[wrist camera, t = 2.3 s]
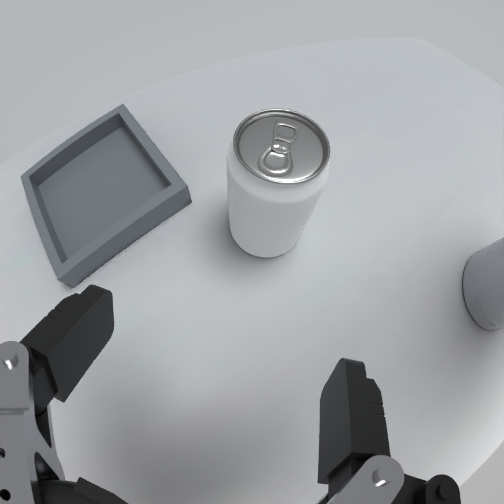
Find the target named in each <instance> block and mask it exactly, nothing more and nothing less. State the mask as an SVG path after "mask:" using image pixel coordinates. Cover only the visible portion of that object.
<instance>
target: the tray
mask: <svg viewBox="0 0 504 504" xmlns="http://www.w3.org/2000/svg"><path fill="white" fill-rule="evenodd" d="M21 180H22V183H23V187H24V190H25V193H26V197H27V200H28V203H29V206H30V209H31V212H32V215H33V218H34V221H35V224H36V227H37V229H38V232H39V235H40V237H41V240H42V243H43V245H44V248H45V250H46V253H47V255H48V258H49V260H50V262H51V265H52V267H53V269H54V272H55V274H56V276H57V279H58V280H59V281H61V282H63V283H65V284H67V285H70V286H72V287H75V286H76V285H78V284H79V283H80V282H82V281H83V280H84V279H85V278H87V277H88V276H89V275H91V274H92V273H93V272H94V271H96V270H97V269H98V268H100V267H101V266H102V265H104V264H105V263H106V262H108V261H109V260H110V259H112V258H113V257H114V256H116V255H117V254H118V253H120V252H121V251H122V250H124V249H125V248H127V247H128V246H129V245H131V244H132V243H133V242H135V241H136V240H138V239H139V238H140V237H142V236H143V235H145V234H146V233H147V232H149V231H150V230H152V229H153V228H155V227H156V226H157V225H159V224H160V223H162V222H163V221H165V220H166V219H168V218H169V217H171V216H172V215H173V214H175V213H176V212H178V211H179V210H181V209H182V208H184V207H185V206H187V205H188V204H190V203H191V202H192V200H191V197H190V193H189V189H188V186H187V185H186V183H185V182H184V181H183V179H182V178H181V177H180V176H179V174H178V173H177V172H176V171H175V169H174V168H173V167H172V166H171V164H170V163H169V162H168V160H167V159H166V158H165V157H164V155H163V154H162V153H161V152H160V150H159V149H158V148H157V146H156V145H155V144H154V143H153V141H152V140H151V139H150V137H149V136H148V135H147V134H146V132H145V131H144V130H143V128H142V127H141V126H140V125H139V123H138V122H137V121H136V120H135V118H134V117H133V116H132V114H131V113H130V112H129V111H128V109H127V108H126V107H125V105H124V104H122V105H120V106H118V107H117V108H115V109H113V110H112V111H110V112H108V113H107V114H105V115H104V116H102V117H100V118H99V119H97V120H96V121H94V122H93V123H91V124H89V125H88V126H86V127H85V128H83V129H82V130H81V131H79V132H78V133H76V134H75V135H73V136H72V137H70V138H69V139H68V140H66V141H65V142H63V143H62V144H61V145H59V146H58V147H57V148H55V149H54V150H53V151H51V152H50V153H49V154H47V155H46V156H45V157H44V158H42V159H41V160H40V161H38V162H37V163H36V164H35V165H34V166H32V167H31V168H30V169H29V170H27V171H26V172H25V173H24V174H23V175H22V176H21Z"/></svg>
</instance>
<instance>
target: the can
mask: <svg viewBox="0 0 504 504" xmlns="http://www.w3.org/2000/svg"><path fill="white" fill-rule="evenodd" d="M329 157H330V145H329V141H328V139H327V136H326V135H325V133H324V131H323V130H322V129H321V128H320V126H319V125H318V124H316V123H315V122H314V121H313V120H311V119H310V118H308V117H307V116H305V115H303V114H300V113H298V112H295V111H291V110H286V109H267V110H262V111H259V112H256V113H254V114H252V115H250V116H248V117H247V118H245V119H244V120H243V121H242V122H241V123H240V124H239V126H238V127H237V129H236V131H235V134H234V138H233V140H232V141H231V143H230V146H229V148H228V153H227V187H228V206H229V222H230V229H231V233H232V236H233V238H234V240H235V241H236V243H237V244H238V245H239V246H240V247H241V248H242V249H243V250H244V251H246V252H247V253H249V254H251V255H254V256H258V257H276V256H279V255H282V254H284V253H286V252H287V251H289V250H290V249H291V248H292V247H293V246H294V245H295V244H296V242H297V241H298V239H299V237H300V235H301V233H302V231H303V229H304V227H305V226H306V224H307V222H308V220H309V218H310V216H311V214H312V211H313V209H314V207H315V205H316V203H317V201H318V199H319V197H320V195H321V193H322V191H323V189H324V186H325V184H326V182H327V179H328V176H329V172H330V160H329Z"/></svg>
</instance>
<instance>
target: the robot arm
mask: <svg viewBox="0 0 504 504" xmlns="http://www.w3.org/2000/svg"><path fill="white" fill-rule="evenodd" d="M463 292H464V297H465V302H466V305H467V308H468V310H469V312H470V314H471V316H472V318H473V319H474V320H475V322H476V323H477V324H478V325H479V326H481V327H482V328H484V329H486V330H496V329H501V328H504V237H503V238H502V239H500V240H498V241H496V242H494V243H493V244H491V245H489V246H487V247H486V248H484V249H482V250H480V251H478V252H477V253H475V254H474V255H473V256H471V258H470V259H469V260H468V262H467V265H466V267H465V271H464V275H463ZM113 330H114V315H113V297H112V293H111V291H109V290H106V289H104V288H101V287H98V286H96V285H89V286H88V287H87V288H86V289H85V290H84V291H83V292H82V293H81V294H80V295H79V294H77V293H75V294H73V295H71V296H69V297H67V298H64V299H63V300H62V301H61V302H60V303H59V304H58V305H57V306H56V307H55V309H52V310H51V311H50V312H49V313H48V315H47V316H45V317H44V318H43V319H42V320H41V321H40V322H39V323H38V324H37V325H36V326H35V327H34V328H33V329H32V330H31V331H30V332H29V333H28V334H27V335H26V336H25V337H24V338H23V339H22V340H21V341H20V342H15V341H8V342H4V343H2V344H0V504H128V503H126V502H125V501H123V500H122V499H121V498H119V497H118V496H116V495H115V494H114V493H111V492H109V491H107V490H105V489H103V488H101V487H99V486H97V485H95V484H93V483H91V482H89V481H87V480H85V479H83V478H81V477H79V479H78V481H77V483H76V482H71V481H66V480H65V476H64V472H63V469H62V466H61V463H60V461H59V458H58V456H57V452H56V447H55V441H54V434H53V426H52V418H51V409H50V404H49V403H50V401H51V400H52V399H53V397H55V398H56V399H58V400H60V401H62V402H63V403H64V402H65V401H66V399H67V398H68V396H69V395H70V393H71V392H72V391H73V389H74V388H75V386H76V385H77V384H78V382H79V381H80V379H81V378H82V377H83V375H84V374H85V372H86V371H87V370H88V368H89V367H90V365H91V364H92V363H93V361H94V360H95V359H96V357H97V356H98V355H99V353H100V352H101V351H102V349H103V348H104V346H105V345H106V344H107V342H108V341H109V340H110V338H111V336H112V333H113ZM382 405H383V402H382V396H381V391H380V389H379V388H378V386H377V384H376V383H375V381H374V379H369V378H367V377H366V371H365V365H364V363H363V362H360V361H355V360H350V359H345V358H341V359H340V360H339V362H338V364H337V365H336V367H335V369H334V371H333V372H332V374H331V376H330V377H329V379H328V381H327V383H326V384H325V386H324V388H323V391H322V394H321V398H320V434H319V464H318V483H321V484H329V487H328V493H326V494H325V495H324V496H323V497H322V498H321V499H320V500H319V501H318V502H317V503H316V504H461V500H460V492H459V487H458V485H457V483H456V482H455V481H454V480H453V479H452V478H451V477H449V476H447V475H436V476H434V477H433V478H431V479H430V480H428V481H425V480H422V479H419V478H415V477H412V476H409V475H406V474H404V472H403V469H402V467H401V466H400V464H399V463H398V462H397V461H396V460H394V459H393V458H391V455H390V449H389V441H388V434H387V427H386V420H385V417H384V415H385V414H384V408H383V407H382Z"/></svg>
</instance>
